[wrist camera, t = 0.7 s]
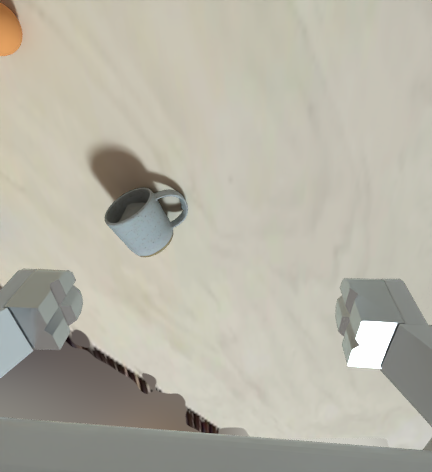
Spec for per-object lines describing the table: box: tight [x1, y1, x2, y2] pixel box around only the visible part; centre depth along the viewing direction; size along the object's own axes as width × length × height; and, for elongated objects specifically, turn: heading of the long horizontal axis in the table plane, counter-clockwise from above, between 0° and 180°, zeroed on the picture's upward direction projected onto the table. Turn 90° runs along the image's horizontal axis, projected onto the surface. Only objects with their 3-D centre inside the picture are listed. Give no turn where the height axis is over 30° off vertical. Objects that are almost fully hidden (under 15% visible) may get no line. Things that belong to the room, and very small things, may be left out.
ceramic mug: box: [105, 188, 188, 257], centre depth 47 cm, size 11×8×8 cm
